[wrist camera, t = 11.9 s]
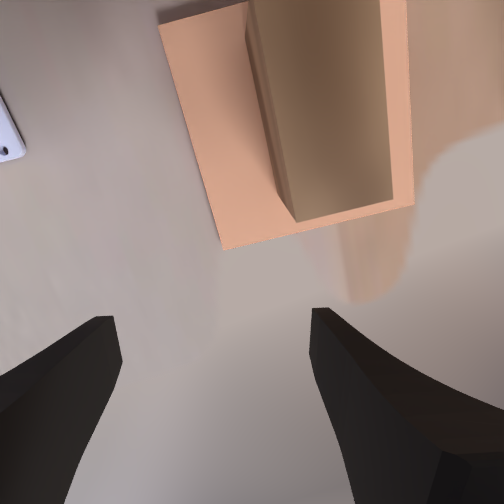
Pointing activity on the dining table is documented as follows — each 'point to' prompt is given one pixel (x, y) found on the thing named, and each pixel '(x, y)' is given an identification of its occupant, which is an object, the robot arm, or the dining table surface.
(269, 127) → the walnut block
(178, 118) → the dining table surface
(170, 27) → the terracotta tile
